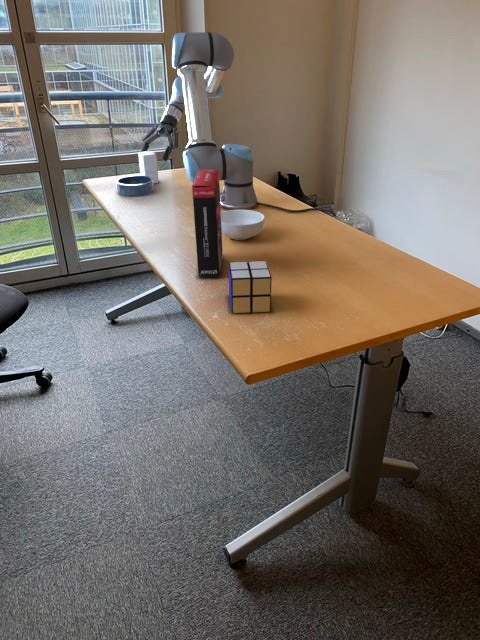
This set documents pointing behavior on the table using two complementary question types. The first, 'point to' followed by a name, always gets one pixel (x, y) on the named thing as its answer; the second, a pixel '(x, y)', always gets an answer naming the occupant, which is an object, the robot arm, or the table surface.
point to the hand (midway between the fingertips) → (152, 157)
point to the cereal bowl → (241, 223)
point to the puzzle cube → (249, 287)
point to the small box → (148, 165)
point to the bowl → (134, 185)
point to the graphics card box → (207, 222)
